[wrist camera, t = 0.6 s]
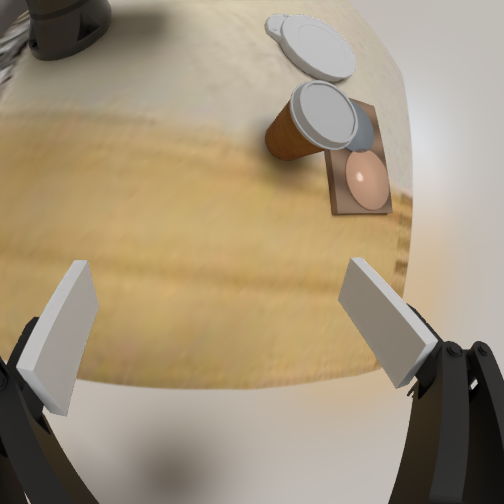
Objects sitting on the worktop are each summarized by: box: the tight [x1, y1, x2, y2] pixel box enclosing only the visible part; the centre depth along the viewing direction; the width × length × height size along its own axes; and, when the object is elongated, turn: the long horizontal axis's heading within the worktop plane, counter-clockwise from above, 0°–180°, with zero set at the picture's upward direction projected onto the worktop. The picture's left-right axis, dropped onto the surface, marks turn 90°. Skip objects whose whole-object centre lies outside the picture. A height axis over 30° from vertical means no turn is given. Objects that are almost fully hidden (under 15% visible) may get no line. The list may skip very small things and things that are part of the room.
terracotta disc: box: [345, 149, 389, 210], centre depth 43 cm, size 11×11×1 cm
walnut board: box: [324, 98, 393, 214], centre depth 43 cm, size 22×14×2 cm, turn 5°
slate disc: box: [345, 99, 374, 153], centre depth 42 cm, size 11×11×1 cm
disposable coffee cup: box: [265, 80, 358, 160], centre depth 33 cm, size 10×10×12 cm
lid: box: [265, 14, 356, 82], centre depth 40 cm, size 17×20×3 cm
